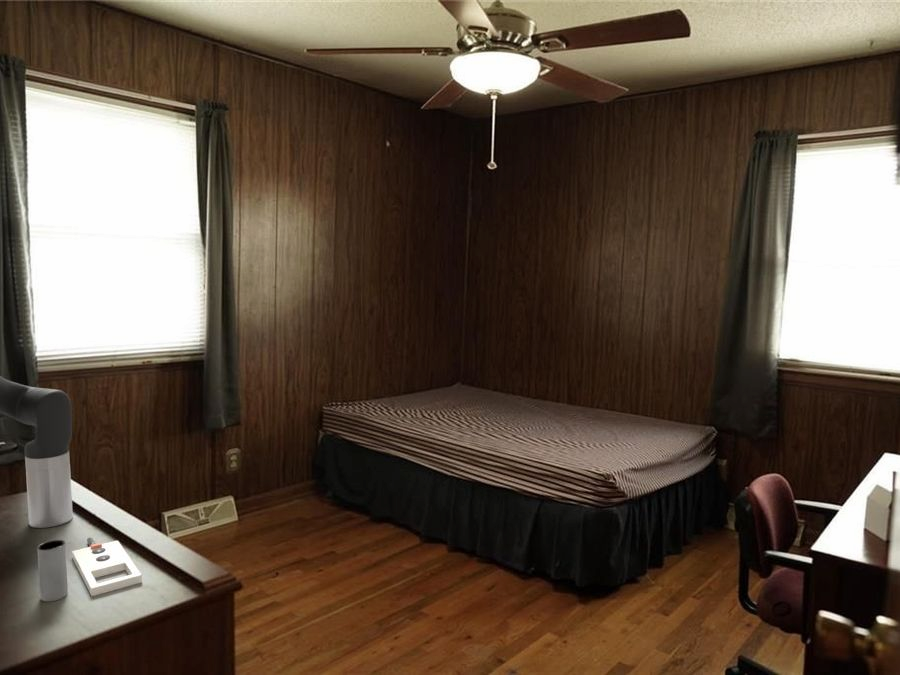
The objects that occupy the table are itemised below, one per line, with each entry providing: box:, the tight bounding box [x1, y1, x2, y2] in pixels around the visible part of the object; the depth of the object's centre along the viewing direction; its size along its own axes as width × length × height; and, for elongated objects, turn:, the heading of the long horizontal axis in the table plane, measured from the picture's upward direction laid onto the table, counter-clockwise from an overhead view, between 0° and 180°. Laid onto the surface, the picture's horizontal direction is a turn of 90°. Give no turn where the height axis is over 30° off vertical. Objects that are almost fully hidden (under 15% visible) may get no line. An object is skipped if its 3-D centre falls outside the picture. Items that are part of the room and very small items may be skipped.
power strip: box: [71, 537, 143, 597], centre depth 138 cm, size 27×9×2 cm, turn 39°
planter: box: [36, 539, 69, 602], centre depth 124 cm, size 4×4×10 cm
